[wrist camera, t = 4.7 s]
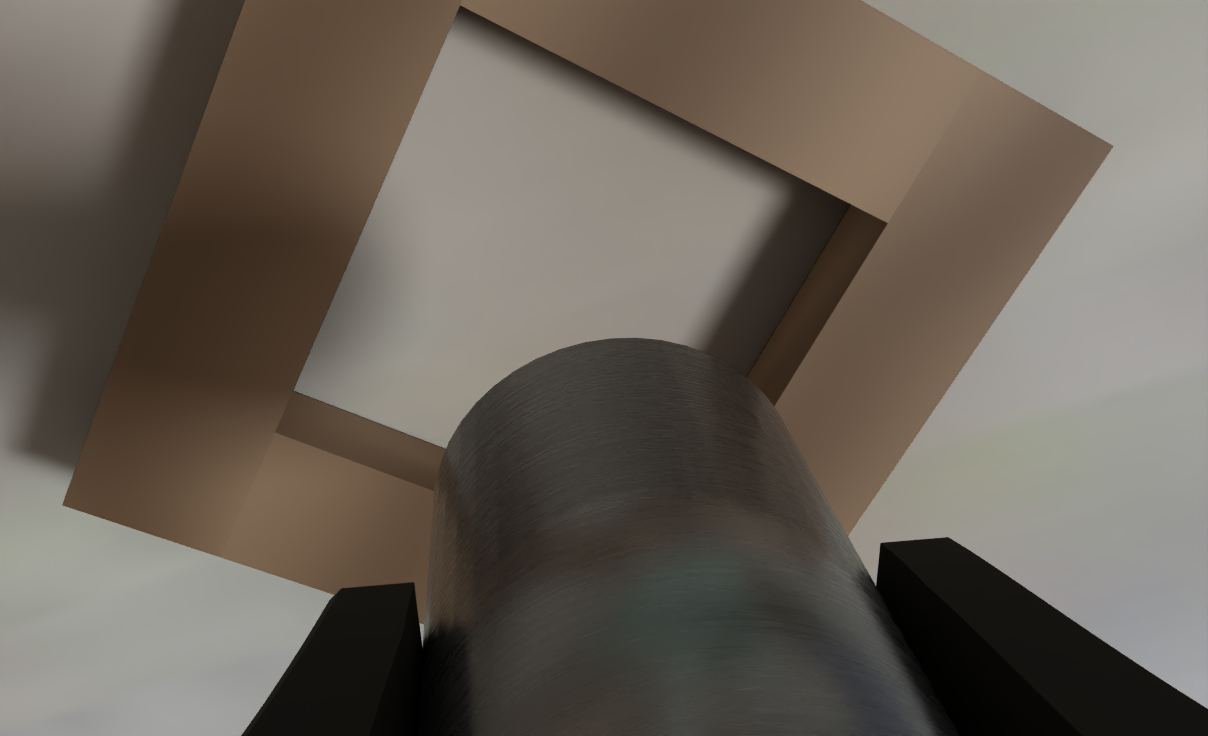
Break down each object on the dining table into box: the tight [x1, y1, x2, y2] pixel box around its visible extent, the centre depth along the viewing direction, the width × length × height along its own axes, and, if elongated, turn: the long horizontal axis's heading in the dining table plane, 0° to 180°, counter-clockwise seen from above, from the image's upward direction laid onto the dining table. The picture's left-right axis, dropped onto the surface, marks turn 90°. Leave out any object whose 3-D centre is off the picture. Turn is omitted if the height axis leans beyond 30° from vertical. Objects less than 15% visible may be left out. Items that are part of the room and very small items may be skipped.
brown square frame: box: [62, 0, 1113, 624], centre depth 17 cm, size 12×12×2 cm
